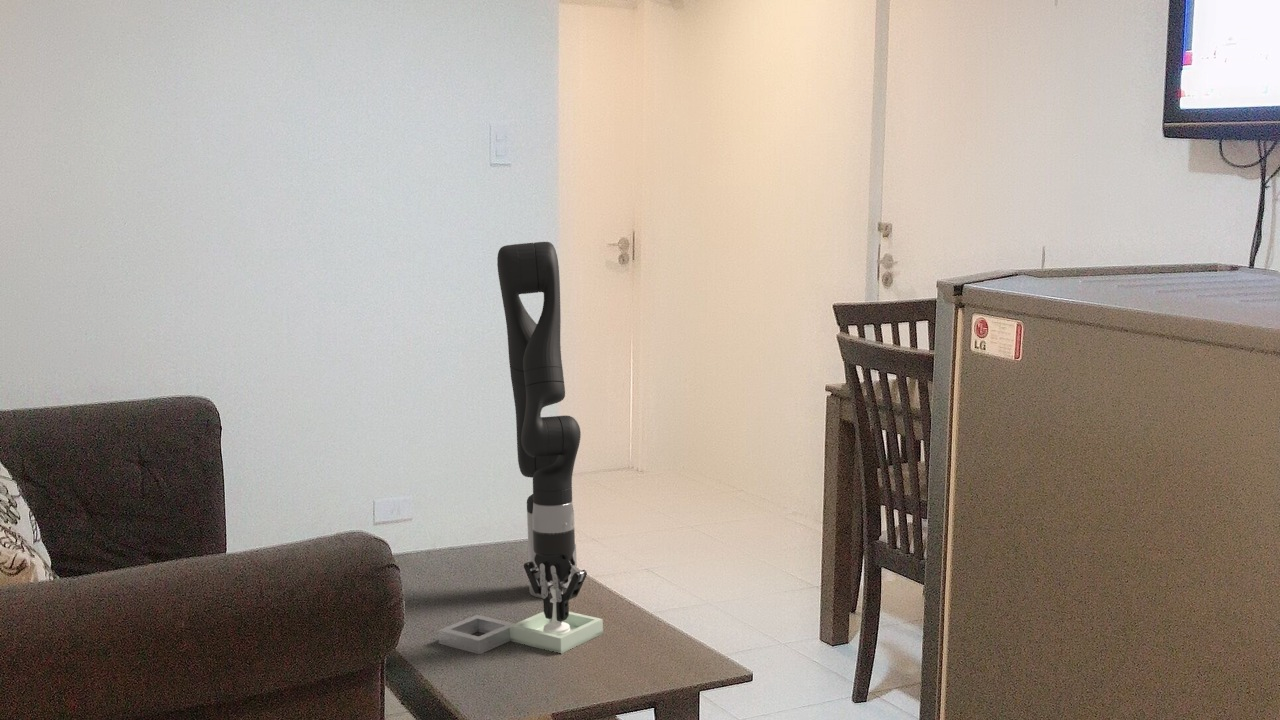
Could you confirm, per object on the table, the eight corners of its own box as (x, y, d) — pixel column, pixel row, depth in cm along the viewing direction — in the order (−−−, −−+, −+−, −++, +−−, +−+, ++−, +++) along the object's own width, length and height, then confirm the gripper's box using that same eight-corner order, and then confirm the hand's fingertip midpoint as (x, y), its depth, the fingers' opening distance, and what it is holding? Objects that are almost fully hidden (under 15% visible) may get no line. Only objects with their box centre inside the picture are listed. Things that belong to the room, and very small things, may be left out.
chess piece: (566, 635, 208) (564, 581, 206) (540, 634, 209) (537, 580, 207) (573, 626, 213) (571, 573, 211) (547, 624, 213) (545, 572, 212)
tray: (552, 622, 219) (552, 607, 219) (603, 633, 212) (602, 619, 212) (510, 640, 209) (509, 625, 209) (561, 653, 202) (560, 638, 202)
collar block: (477, 627, 217) (477, 614, 217) (517, 637, 211) (517, 624, 211) (439, 643, 209) (438, 630, 208) (479, 654, 203) (478, 640, 203)
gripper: (596, 526, 207) (598, 620, 209) (538, 516, 215) (540, 606, 217) (570, 536, 201) (572, 632, 203) (510, 525, 209) (514, 618, 211)
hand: (556, 618), depth 210 cm, fingers closed on chess piece
